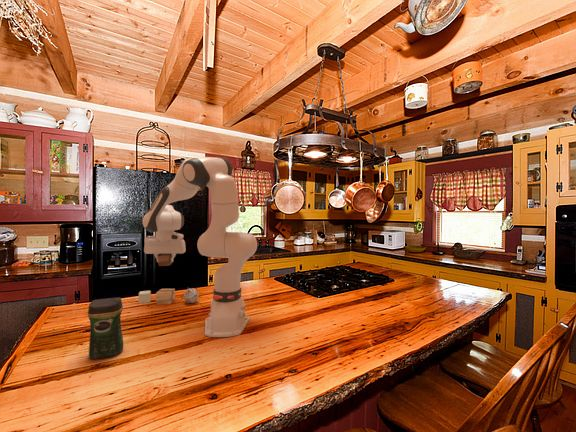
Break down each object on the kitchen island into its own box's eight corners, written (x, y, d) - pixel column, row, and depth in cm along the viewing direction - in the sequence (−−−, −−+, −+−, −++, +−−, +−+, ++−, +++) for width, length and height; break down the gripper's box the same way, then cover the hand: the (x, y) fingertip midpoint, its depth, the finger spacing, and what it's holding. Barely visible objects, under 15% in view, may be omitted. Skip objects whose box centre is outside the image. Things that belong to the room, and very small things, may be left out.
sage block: (149, 302, 140) (149, 293, 140) (138, 303, 139) (138, 294, 139) (150, 299, 145) (150, 290, 145) (140, 300, 143) (140, 291, 143)
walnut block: (168, 265, 139) (168, 256, 139) (158, 265, 139) (158, 256, 138) (171, 263, 144) (171, 254, 144) (162, 263, 144) (162, 254, 143)
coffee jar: (125, 345, 96) (125, 294, 96) (120, 356, 89) (119, 301, 88) (93, 350, 93) (92, 296, 93) (84, 362, 86) (84, 304, 85)
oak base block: (169, 304, 139) (169, 292, 138) (156, 304, 138) (155, 292, 138) (174, 299, 146) (174, 288, 145) (161, 299, 145) (161, 288, 145)
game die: (194, 309, 142) (206, 292, 144) (187, 309, 134) (200, 291, 136) (182, 299, 144) (194, 283, 146) (174, 298, 136) (187, 281, 138)
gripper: (141, 236, 137) (141, 263, 137) (182, 236, 139) (183, 262, 139) (147, 235, 143) (147, 261, 143) (186, 235, 145) (186, 260, 145)
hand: (165, 262), depth 141 cm, fingers closed on walnut block, 5 cm apart
